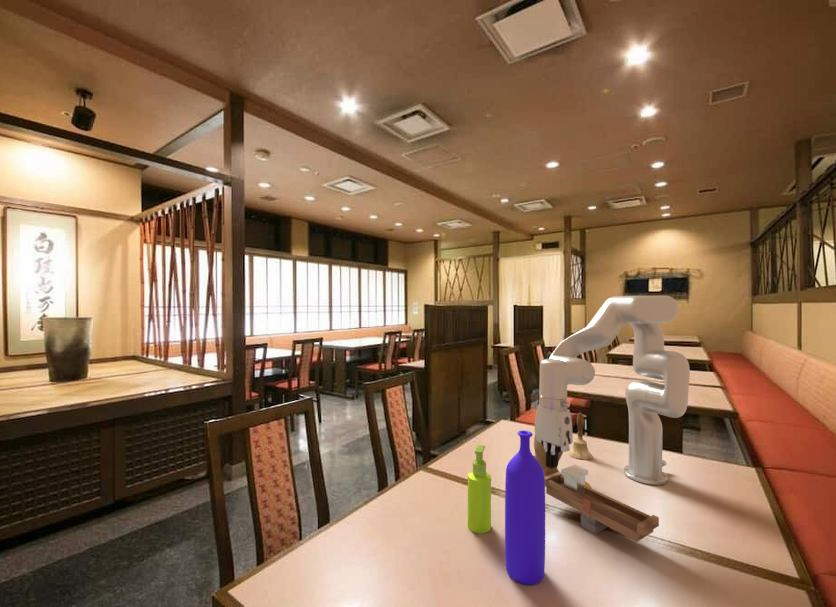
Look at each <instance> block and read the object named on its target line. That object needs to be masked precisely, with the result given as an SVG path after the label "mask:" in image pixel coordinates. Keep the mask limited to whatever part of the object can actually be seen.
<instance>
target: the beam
mask: <svg viewBox="0 0 836 607" xmlns="http://www.w3.org/2000/svg"><path fill="white" fill-rule="evenodd" d="M544 478H545V495H546V494H547V495H548V496H550V497H552V498H554V499H556V500H557V501H560V502H562V503H564V504H566V505H567V506H569V507H571V508H573V509H575V510H577V511H578V512H580V527H581V528H584V529H585V530H587V531H588V532H590V533H593V534H594V535H597V534H599V533H601V532H602V531H604V530H606V529H607V527H608V528H610V529H612V530H614V531H616V532H618V533H619V534H622V535H623V536H625V537H627V538H629V539H631V540H633V541H635V542H636V543H637V542H639V541H641V540H643V539H645V537H648V536H649V535H651V534H652V533H654V530H655V529H657V528H658V527H659V526H660V517H659V516H657V515H654V514H652V515H649V514H647V513H645V512H643V511H641V510H638V509H636V508H635V507H632V506H630V505H628V504H626V503H623V502H621V501H620V500H617V499H614V498H613V497H610V496H608V495H606V494H604V493H601V492H599V491H597V490H596V489H593V488H592V487H591V488H592V489H591V488H589V487H587V486H585V494H584V495H581V494H579V493H577V492H575V491H573V490H571V489H568V488H566V487H564V475H562V474H561V471H559V472H557V473H554V474H551V475H549V476H546V477H544Z"/></svg>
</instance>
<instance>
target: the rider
mask: <svg viewBox="0 0 836 607" xmlns="http://www.w3.org/2000/svg"><path fill="white" fill-rule="evenodd" d="M560 472H561V474H562V475H563V476H564V487H566V488H568V489H571V490H573V491H575V492H577V493H579V494H581V495H584V494H585V481H586V476H588V475H589V470H588V469H586V468H584V467H582V466H579V465H576V464H573V465H570V466H567V467H565V468H562V469H560Z"/></svg>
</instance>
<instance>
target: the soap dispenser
mask: <svg viewBox="0 0 836 607" xmlns="http://www.w3.org/2000/svg"><path fill="white" fill-rule="evenodd" d="M485 449H486V445H480V444H477V446H476V447H475V450H474V454H475V459H474V460H473V461H472V471H470V472H469V473H468V474H467V527H468V529H469V530H470V531H471V532H473V533H476V534H486V533H488V532H489V531H491V529H492V475H491V474H490V473H488V472H487V462H486V461H485V460H484V459H483V458H484V455H483V454H484V451H485Z"/></svg>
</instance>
